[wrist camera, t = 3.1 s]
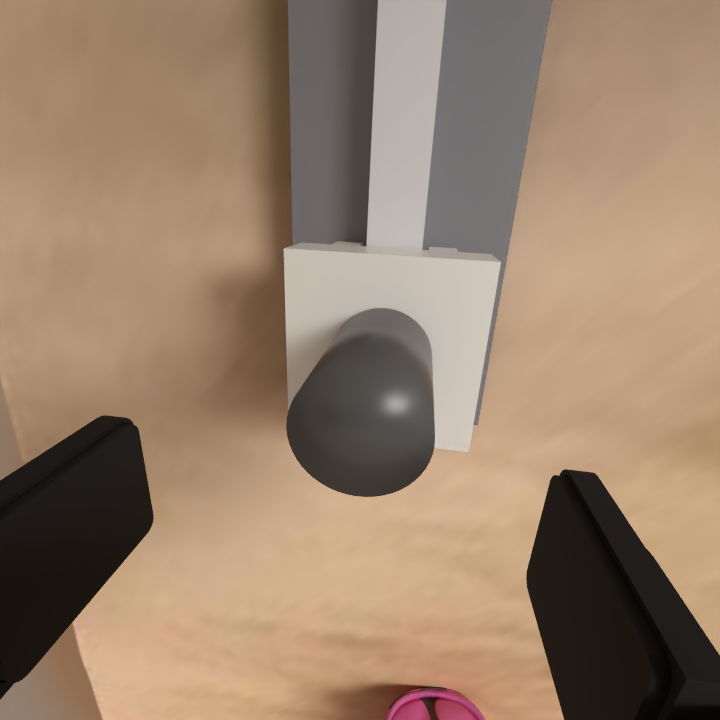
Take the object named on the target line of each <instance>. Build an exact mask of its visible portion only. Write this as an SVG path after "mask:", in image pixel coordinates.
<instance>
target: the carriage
mask: <svg viewBox="0 0 720 720" xmlns="http://www.w3.org/2000/svg"><path fill="white" fill-rule="evenodd" d="M363 245H364V243H360V242H344V241H337V242H335V243H333V244H318V243H299V244H296V245H292V246H289V247H286V248H284V278H285V316H286V353H287V390H288V416H287V436H288V440H289V444H290V446H291V449H292V451H293V453H294V455H295V457H296V459H297V460H298V462H299V463H300V464H301V466H302V467H303V468H304V469H305V470H306V471H307V472H308V473H309V474H310V475H311V476H312V477H313V478H315V479H316V480H317V481H319V482H320V483H322V484H323V485H325V486H327V487H329V488H331V489H333V490H336V491H338V492H341V493H345V494H349V495H354V496H363V497H374V496H382V495H386V494H390V493H393V492H396V491H399V490H401V489H403V488H405V487H406V486H408V485H409V484H411V483H412V482H414V481H415V480H416V479H417V478H418V477H419V476H420V475H421V474H422V473H423V471H424V470H425V469H426V467H427V465H428V464H429V462H430V459H431V457H432V454H433V450H434V448H439V449H447V450H455V451H463V452H469V448H470V442H471V436H472V430H473V424H474V418H475V412H476V407H477V401H478V395H479V389H480V383H481V377H482V371H483V365H484V360H485V354H486V348H487V342H488V336H489V330H490V324H491V318H492V313H493V307H494V301H495V295H496V289H497V283H498V277H499V271H500V265H501V262H500V261H499V260H498V259H497V258H495V257H494V256H493V255H492V254H482V253H466V252H458V250H457V249H456V248H444V247H429V250H417V249H400V248H384V247H367V246H363Z"/></svg>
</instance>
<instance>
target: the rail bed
mask: <svg viewBox="0 0 720 720" xmlns="http://www.w3.org/2000/svg"><path fill="white" fill-rule="evenodd" d="M551 2H552V0H288V41H289V94H290V147H291V199H292V245H296V244H299V243H318V244H333V243H335V242H337V241H344V242H360V243H364V245H363V246H367V247H384V248H400V249H417V250H429V247H444V248H456V249H457V250H458V252H466V253H482V254H492V255H493V256H494V257H495V258H497V259H498V260H499V261H500V262H501V265H500V271H499V277H498V283H497V289H496V295H495V301H494V307H493V313H492V318H491V324H490V330H489V336H488V342H487V348H486V354H485V360H484V365H483V371H482V377H481V383H480V389H479V395H478V401H477V407H476V412H475V418H474V424H473V425H478V420H479V415H480V409H481V403H482V397H483V392H484V386H485V380H486V374H487V369H488V363H489V357H490V352H491V346H492V340H493V334H494V329H495V323H496V317H497V311H498V306H499V300H500V294H501V289H502V283H503V277H504V271H505V266H506V260H507V254H508V248H509V243H510V237H511V231H512V226H513V220H514V214H515V208H516V203H517V197H518V191H519V186H520V180H521V174H522V168H523V163H524V157H525V151H526V145H527V140H528V134H529V128H530V123H531V117H532V111H533V105H534V100H535V94H536V88H537V82H538V77H539V71H540V65H541V60H542V54H543V48H544V42H545V37H546V31H547V25H548V19H549V14H550V8H551Z"/></svg>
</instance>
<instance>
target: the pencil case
mask: <svg viewBox="0 0 720 720" xmlns="http://www.w3.org/2000/svg"><path fill="white" fill-rule="evenodd" d="M384 720H485V718H484V716H483V715H482V714H481V712H480V711H479V709H478V708H477V707H476V706H475V705H474V704H473V703H472V702H470V701H469V700H468V699H467V698H465V697H463V696H462V695H460V694H458V693H456V692H454V691H452V690H449V689H445V688H439V687H430V688H421V689H416V690H411V691H409V692H406V693H404V694H403V695H401V696H400V697H398V698H397V699H396V700H395V701H394V702H393V703H392V704H391V706H390V707H389V709H388V711H387V713H386V716H385V719H384Z"/></svg>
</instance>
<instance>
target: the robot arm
mask: <svg viewBox="0 0 720 720" xmlns="http://www.w3.org/2000/svg"><path fill="white" fill-rule="evenodd" d="M152 523H153V510H152V504H151V499H150V493H149V487H148V481H147V475H146V470H145V464H144V458H143V452H142V446H141V441H140V435H139V430H138V428H137V427H136V426H135V425H133V422H132V421H131V420H130V419H128V418H123V417H114V416H101V417H98V418H97V419H95V420H94V421H92V422H90V423H89V424H87V425H86V426H84V427H83V428H81V429H80V430H78V431H76V432H75V433H73V434H72V435H70V436H69V437H67V438H66V439H64V440H62V441H61V442H59V443H58V444H56V445H55V446H53V447H52V448H50V449H49V450H47V451H45V452H44V453H42V454H41V455H39V456H38V457H36V458H35V459H33V460H31V461H30V462H28V463H27V464H25V465H24V466H22V467H21V468H19V469H17V470H16V471H14V472H13V473H11V474H10V475H8V476H7V477H5V478H4V479H2V480H0V699H1V698H2V697H3V696H4V695H5V693H6V692H7V691H8V690H9V689H10V688H11V686H12V685H13V684H14V683H16V682H19V681H20V680H22V679H23V678H25V677H26V676H27V675H28V673H29V672H30V671H31V670H32V669H33V668H34V667H35V666H36V665H37V663H38V662H39V661H40V660H41V659H42V657H43V656H44V655H45V654H46V653H47V652H48V650H49V649H50V648H51V647H52V645H53V644H54V643H55V642H56V641H57V640H58V639H59V637H60V636H61V635H62V634H63V633H64V631H65V630H66V629H67V628H68V627H69V625H70V624H71V623H72V622H73V621H74V620H75V618H76V617H77V616H78V615H79V614H80V612H81V611H82V610H83V609H84V608H85V607H86V605H87V604H88V603H89V602H90V601H91V599H92V598H93V597H94V596H95V595H96V593H97V592H98V591H99V590H100V589H101V588H102V586H103V585H104V584H105V583H106V582H107V580H108V579H109V578H110V577H111V576H112V575H113V573H114V572H115V571H116V570H117V569H118V567H119V566H120V565H121V564H122V563H123V562H124V560H125V559H126V558H127V557H128V556H129V554H130V553H131V552H132V551H133V550H134V548H135V547H136V546H137V545H138V544H139V543H140V541H141V540H142V539H143V538H144V537H145V535H146V534H147V533H148V532H149V530H150V528H151V526H152ZM527 588H528V592H529V596H530V599H531V603H532V607H533V610H534V614H535V617H536V621H537V624H538V628H539V631H540V635H541V638H542V642H543V646H544V649H545V653H546V656H547V660H548V663H549V667H550V670H551V674H552V677H553V681H554V685H555V688H556V692H557V695H558V699H559V702H560V706H561V709H562V713H563V716H564V720H720V655H719V654H718V652H717V651H716V649H715V648H714V646H713V645H712V643H711V642H710V640H709V639H708V637H707V636H706V634H705V633H704V631H703V630H702V628H701V627H700V625H699V624H698V623H697V621H696V620H695V618H694V617H693V615H692V614H691V612H690V611H689V609H688V608H687V606H686V605H685V603H684V602H683V600H682V599H681V597H680V596H679V594H678V593H677V591H676V590H675V588H674V587H673V585H672V584H671V582H670V581H669V579H668V578H667V576H666V575H665V573H664V572H663V570H662V569H661V567H660V566H659V564H658V563H657V561H656V560H655V558H654V557H653V556H652V555H651V553H650V552H649V551H648V550H647V549H646V548H645V547H644V545H643V544H642V542H641V540H640V539H639V537H638V536H637V534H636V533H635V531H634V530H633V528H632V527H631V525H630V524H629V522H628V521H627V519H626V518H625V516H624V515H623V513H622V512H621V510H620V509H619V507H618V506H617V504H616V503H615V501H614V500H613V498H612V497H611V495H610V494H609V492H608V491H607V489H606V488H605V486H604V485H603V483H602V482H601V480H600V479H599V477H598V476H597V475H596V474H595V473H592V472H583V471H575V470H566V469H565V470H563V471H562V472H561V473H560V476H557V475H554V476H553V477H552V478H551V480H550V484H549V488H548V492H547V496H546V499H545V503H544V507H543V511H542V515H541V519H540V523H539V527H538V530H537V534H536V538H535V542H534V546H533V550H532V554H531V557H530V561H529V565H528V569H527Z"/></svg>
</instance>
